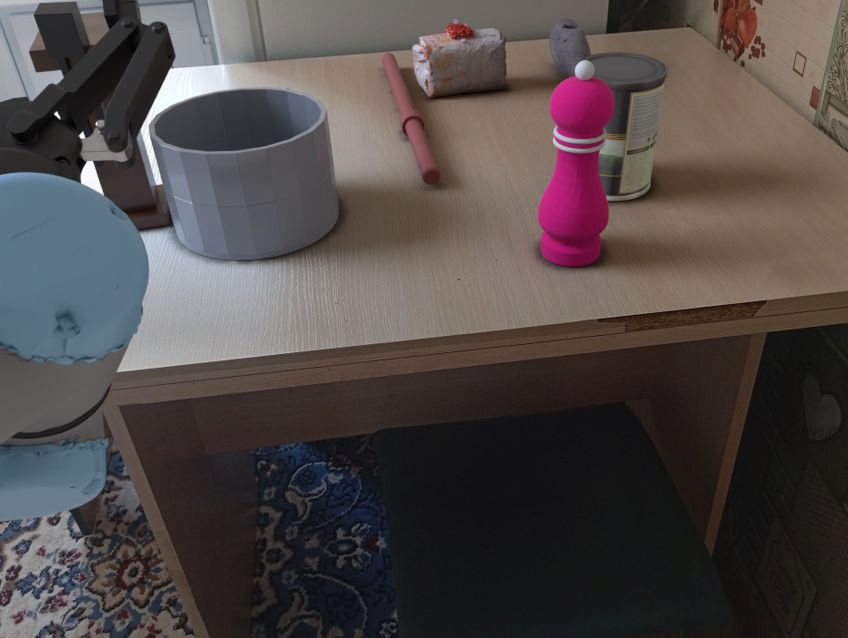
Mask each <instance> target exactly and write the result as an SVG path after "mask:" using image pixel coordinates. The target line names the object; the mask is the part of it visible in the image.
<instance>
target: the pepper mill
mask: <svg viewBox="0 0 848 638" xmlns="http://www.w3.org/2000/svg"><path fill="white" fill-rule="evenodd" d="M594 70H595V69H594V66H593V64H592V63H591V62H590V61H587V60H584V61H581V62H579V63H578V64H577V66H576V68H575V75H576V76H574V77H570V78H566V79H564V80H562V81H561V82H560V83H559V84H558V85H557V86H556V87H554V90H553V92H552V94H551V96H550V101H549V114H550V115H549V116H550V117H551V119H552V121H553V122H554V124H555V125H556V126H555V127H554V128H553V138H552V143H553V145H554V146H555V147H556V162H555V168H554V171H553V174H552V177H551V179H550V181H549V183H548V185H547V187H546V188H545V190H544V192H543V194H542V197H541V199H540V202H539V205H538V212H537V220H538V224H539V226H540V228H541V229H542V231H543V232H542V234H541V238H540V239H541V242H540V253H541V255H542V256H543V258H545V260H547V261H548V262H550V263H552V264H555V265H557V266H562V267H566V268H568V267H569V268H570V267H571V268H576V267H577V268H578V267H584V266H587V265H588V266H589V265H590V264H592V263H594V262H596V261H597V259H598V258H599V257H600V255H601V248H602V237H601V234H602V233H603V232H604V231H605V230H606V228H607V226H608V224H609V217H610V208H609V201H607V197H606V194H605V191H604V188H603V185H602V182H601V179H600V175H599V169H598V165H599V153H600V149H602V148H603V147H604V145H605V136H606V130H605V128H604V126H605V125H606V124H608V122H609V121H610V120H611V118H612V116H613V113H614V97H613V93H612V91H611V89H610V88H609V86H608V85H607V84H606V83H605V82H604V81H602V80H600V79H598V78H595V77H593V75H594Z"/></svg>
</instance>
